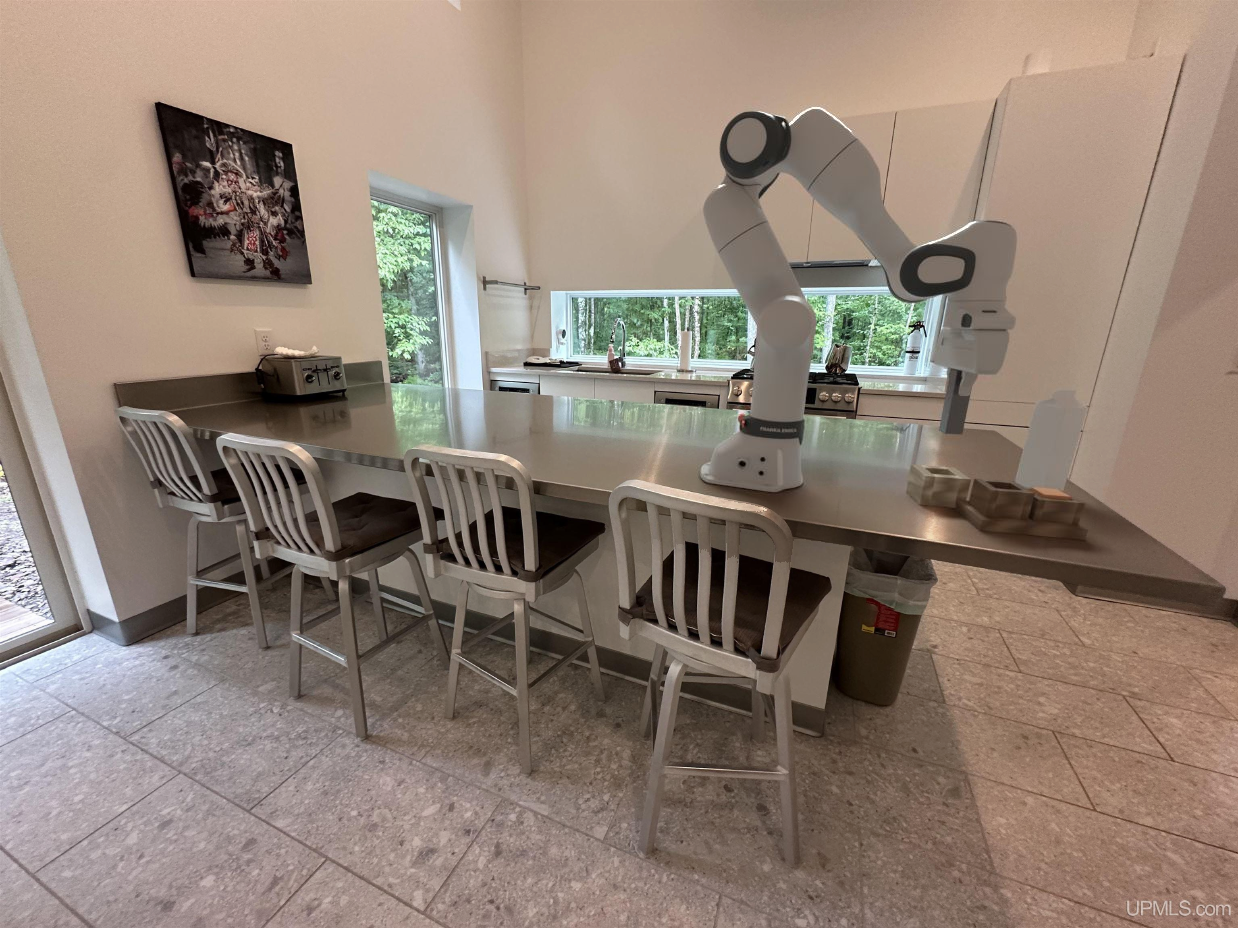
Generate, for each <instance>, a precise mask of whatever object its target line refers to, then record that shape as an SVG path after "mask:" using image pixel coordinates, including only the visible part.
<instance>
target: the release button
mask: <svg viewBox="0 0 1238 928" xmlns="http://www.w3.org/2000/svg"><path fill="white" fill-rule="evenodd" d="M1030 491H1032V492H1033V493H1035V494H1036V495H1038V496H1040V497H1041V498H1048V499H1061V500H1070V499H1071V496H1072V495H1071V496H1069V495H1070V494H1069V495H1067V494H1068V493H1067V494H1065V493H1066V492H1065V493H1063V492H1064V491H1063V492H1061V491H1060V490H1058V489H1050V488H1037V487H1031V490H1030Z"/></svg>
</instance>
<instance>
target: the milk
mask: <svg viewBox="0 0 1238 928" xmlns="http://www.w3.org/2000/svg"><path fill="white" fill-rule="evenodd" d="M1076 393H1077V390H1076V389H1055V390H1053V393H1052V396H1051V397H1050V398H1047V399H1046V398H1045V399H1043V400H1041V401H1038V402H1036V403H1035V404H1034V407H1033V411H1032V415H1031V419H1030V422H1029V426H1028V430H1027V433H1026V436H1025V437H1026V439H1025V442H1024V446H1023V450H1022V454H1021V455H1020V456H1021V457H1020V460H1019V464H1018V469H1017V473H1016V476H1015V479H1014V480H1015V482H1016V483H1018V484H1020V485H1021V486H1023V487H1028V488H1031V487H1037V488H1050V489H1058V490H1061V491H1063V492H1064V490H1065V486H1066V483H1067V480H1068V476H1069V473H1070V470H1071V466H1072V463H1073V459H1074V456H1075V453H1076V448H1077V446H1078V442H1079V438H1080V435H1081V432H1082V429H1083V428H1082V427H1083V425H1084V422H1085V418H1086V416H1087V411H1088V407H1087V405H1085V404H1083V402H1081V401H1080V400H1079V399H1077V397H1076Z"/></svg>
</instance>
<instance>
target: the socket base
mask: <svg viewBox="0 0 1238 928" xmlns="http://www.w3.org/2000/svg"><path fill="white" fill-rule="evenodd" d="M1030 490H1031V488H1028V487H1023V486H1021V485H1020V484H1018V483H1016V482H1015V481H1014V480H1013V481H1012V480H1003V479H1002V480H1001V479H987V478H976V477H975V478H973V481H972V486H971V491H970V495H969V499H968V500H957V504H956V508H954V509H955V511H956V512H957V513H959V514H960V515H961V516H962V517H963V518H964V519H965V520H967V521H968V522H969V523H970V524H971V525H973V527H975V528H976V529H977V530H979V531H981V532H982V531H983V532H993V533H1003V534H1016V535H1024V536H1037V537H1047V538H1056V539H1057V538H1058V539H1069V540H1070V539H1071V540H1079V541H1080V540H1081V541H1082V540H1083V541H1085V540H1086V539H1087V536H1088V532H1089V530H1090V529H1089V528H1088V527H1086V526H1084V525H1083V524H1080V520H1081V518H1082V514H1083V511H1084V509H1085V505H1086V503H1085V502H1084V501H1082V500H1080V499H1078V498H1076V497H1074V496H1072V495H1070V494H1068V493H1067V492H1065V491H1064V490H1063V491H1061V490H1060V491H1061V492H1063V493H1065V494H1067V495H1069V496H1071V499H1070V500H1061V499H1048V498H1041V497H1040V496H1038V495H1036V494H1035V493H1033V492H1032V491H1030Z"/></svg>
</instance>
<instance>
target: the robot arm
mask: <svg viewBox="0 0 1238 928" xmlns="http://www.w3.org/2000/svg"><path fill="white" fill-rule="evenodd" d="M719 142H720V143H719V158H720V162H721V165H722V167H723V169H724V170H725V171H724V172H725V175H724V179H723V180H722V182H721V183H720V185H718V186H716V187H715V188H714V189H713V190H711V192H710V193H709V194H708V195H707V197H706V199H705V201H704V203H703V208H702V212H703V216H704V221H705V224H706V227H707V230H708V234H709V236H710V238H711V241H712V243H713V245H714V248H715V250H716V253H717V254H718V256H719V258H720V260H721V261H722V264H723V265H724V267H725V269H726V272H727V274H728V275H729V278H730V279H731V281H732V283H733V285H734V287H735V289H736V291H737V293H738V294H739V296H740V297H741V299H742V301H743V303H744V305H745V307H746V308H747V310H748V312H749V313H750V316H751V318H752V319H753V321H754V322H755V324H756V332H755V333H756V334H755V346H754V347H755V351H754V365H753V379H752V380H753V384H752V394H751V403H750V413H749V414H747V415H746V413H739V415H738V416H737V422H738V423H739V428H738V429H739V431H737V432H736V433H734V434H732V435H731V436H729V437H728V438H726V439H724V440H723V441H721V442H720V443H719V444H717V445H716V447H715V449H714V450H713V452H712V456H711V458H710V461H709V462H706V463H704V464H703V465H702V466H701V468H700V473H699V476H700V478H701V479H702V480H703V481H704V482H706V483H708V484H715V485H721V486H728V487H735V488H741V489H742V488H743V489H748V490H749V489H750V490H756V491H761V492H768V493H769V492H771V493H778V492H781V491H783V490H786V489H794V488H797V487H800V486H802V484H803V483H804V480H803V473H802V462H801V447H802V444H803V441H804V438H805V437H804V435H805V428H806V424H805V423H806V422H805V421H806V420H805V418H804V413H805V406H806V405H805V404H806V397H807V391H808V385H809V384H808V382H809V378H810V377H809V376H810V370H811V364H812V356H813V350H814V345H815V344H814V342H815V337H816V331H817V330H816V329H817V316H816V312H815V310H814V308H813V306H812V305H811V303H809V302H808V300H807V298H806V296H805V294H804V292H803V290H802V288H801V287H800V284H799V281H798V280H797V278H796V276H795V274H794V272H793V270H792V267H791V265H790V262H789V260H788V258H787V257H786V254H785V253H784V250H783V248H782V246H781V245H780V244H781V243H779V240H778V238H777V236H776V234H775V232H774V229H773V228H772V226H771V224H770V222H769V220H768V218H767V216H766V215H765V213H764V210H763V208H762V205H761V203H760V199H761V198H762V196H764V194H765V193H766V192H767V190H769V188H770V187H771V186H772V185H773V184H774V183H775V182H776V180H777V179H778V177H779V176H780V174H781V173H782V174H788V175H789V176H792V178H794V179H795V180H797V181H798V182H799V183H800V184H801V186H802V187H803V188H804V189H805V190H806V192H808V194H809V195H810V196H811V197H812V199H813V200H815V202H817V204H819V205H820V206H821V207H822V208H823V209H824V210H825V211H827V212H828V213H829V214H830V215H832V216H833V217H834V218H835V219H837V220H839V221H840V222H841V223H842V224H843V225H845V226H846V227H847V228H848V229H850V230H851V231H852V232H853V233H854V234H855V236H857V238H858V239H859V240H860V241H861V242H862V244H863V245H864V246H865V247H866V248H867V250H868V251H869V252H870V253H871V255H872V256H873V258H875V259H876V261H877V262H878V263H879V264H880V266H881V267H882V269H883V271H884V275H885V280H886V285H887V288H888V290H889V292H890V294H891V295H892V297H894V298H895V299H896V300H897V301H900V302H902V303H906V304H918V303H922V302H925V301H926V300H930V299H933V298H936V297H939V296H947V302H946V308H945V313H944V319H943V325H942V329H941V330H940V333H939V335H938V338H937V342H936V346H935V350H934V355H933V362H934V363H933V364H935V365H936V366H941V367H944V368H947V369H946V380H947V381H948V380H949V375H950V370H951V369H957V370H961V371H962V377H963V378H962V380H961V383H960V385H958V386H957V392H956V393H957V394H958V395H960V396H969V395H970V396H971V394H970V392H971V393H972V390H971V388H972V389H973V386H974V384H975V382H976V381H977V379H978V375H984V376H985V375H987V376H988V375H992V376H996V375H997V374H998V373H999V372H1000V371H1001V369H1002V368H1003V365H1004V361H1005V358H1006V354H1007V352H1008V351H1007V350H1008V347H1009V343H1010V331H1011V330H1013V329H1014V328H1015V326H1016V322H1017V317H1016V316H1015V315H1014V314H1013V313H1011V312H1010V311H1008V309H1007V308H1006V304H1007V286H1008V283H1009V281H1010V279H1011V278H1012V275H1013V271H1014V266H1015V265H1014V264H1015V260H1016V254H1017V245H1018V244H1017V243H1018V236H1017V231H1016V229H1015V227H1013V225H1011V224H1009V223H1007V222H1003V221H998V220H989V219H988V220H987V219H986V220H975V221H974V220H973V221H970V222H969V223H967V224H966V225H964V226H963V227H961V228H960V229H958V230H956V231H955V232H952V233H951V234H948V235H946V236H944V237H942V238H940V239H935V240H933V241H930V242H927V243H925V244H922V245H916V244H915V243H914V242H912V241H911V239H910V238H909V237H908V236H907V234H905V232H904V231H903V230H902V228H901V227H900V226H899V224H898V223H897V222H896V221H895V220H894V218H892V216H891V215H890V213H889V212H888V210H887V208H886V206H885V204H884V200H883V196H882V188H881V187H882V186H881V183H882V182H881V171H880V168H879V167H878V164H877V162H876V161H875V160H874V157H873V156H872V153H871V152H870V151H869V150H868V149H867V147H866V145H865V144H864V143H863V141H861V139H859V137H857V136H856V135H855V134H854V132H853V131H852V130H850V128H848V127H847V125H845V124H844V123H843V122H842V121H840V120H839V119H838V118H837V117H835V116H834V115H833V114H832V113H830V112H828V111H827V110H825V109H824V108H822V107H811V108H808V109H806V110H804V111H802V112H801V113H799V114H798V115H797V116H796V117H794V118H793V119H792V121H791V122H789V121H788V119H787V118H786V117H785V116H782V115H776V114H771V113H767V112H763V111H758V110H748V111H744V112H741V113H739V114H737V115H736V116H734V117H733V118H732V119H731V120H730V121H729V122H728V123H727V125H726V126H725V128H724V130H723V132H722V135H721V137H720V141H719Z"/></svg>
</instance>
